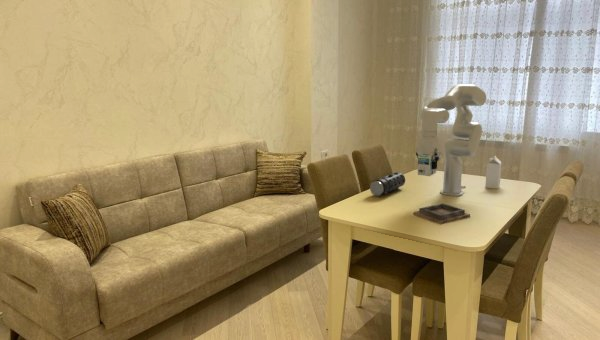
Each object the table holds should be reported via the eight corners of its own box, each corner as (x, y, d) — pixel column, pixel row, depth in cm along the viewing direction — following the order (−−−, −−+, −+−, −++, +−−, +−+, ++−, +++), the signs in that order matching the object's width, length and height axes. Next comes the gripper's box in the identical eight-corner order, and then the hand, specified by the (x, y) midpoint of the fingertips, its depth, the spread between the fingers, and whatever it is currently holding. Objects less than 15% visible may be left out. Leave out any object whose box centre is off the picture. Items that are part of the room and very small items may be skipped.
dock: (441, 208, 222) (442, 201, 222) (470, 217, 208) (470, 210, 207) (413, 214, 212) (413, 208, 212) (441, 224, 198) (441, 217, 197)
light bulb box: (429, 176, 220) (431, 155, 218) (416, 175, 224) (417, 154, 221) (436, 172, 229) (437, 152, 226) (424, 171, 232) (425, 151, 230)
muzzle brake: (405, 189, 261) (406, 172, 259) (383, 199, 240) (384, 181, 237) (390, 187, 267) (391, 170, 265) (368, 197, 245) (368, 179, 243)
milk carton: (499, 186, 266) (502, 155, 263) (497, 189, 261) (500, 157, 257) (487, 185, 270) (489, 154, 266) (485, 187, 264) (487, 156, 260)
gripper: (411, 132, 227) (409, 165, 231) (437, 136, 212) (435, 171, 216) (421, 131, 231) (419, 163, 234) (447, 135, 216) (445, 169, 220)
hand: (427, 167), depth 225 cm, fingers closed on light bulb box, 8 cm apart
